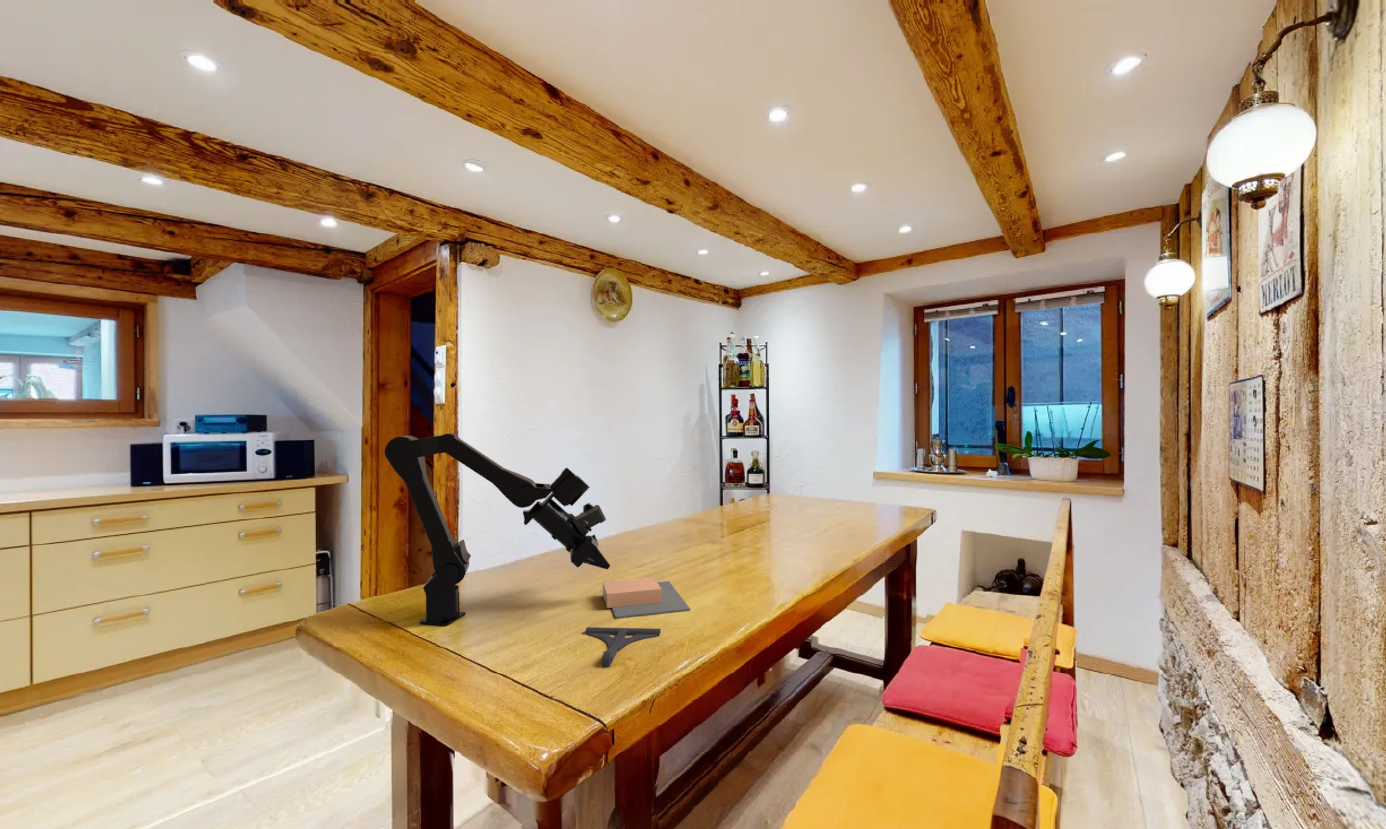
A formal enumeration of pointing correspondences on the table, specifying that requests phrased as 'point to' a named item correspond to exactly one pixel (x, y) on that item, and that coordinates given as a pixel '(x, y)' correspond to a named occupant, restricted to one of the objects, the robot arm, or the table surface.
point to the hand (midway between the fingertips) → (608, 567)
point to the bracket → (619, 639)
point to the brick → (631, 592)
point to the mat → (655, 604)
